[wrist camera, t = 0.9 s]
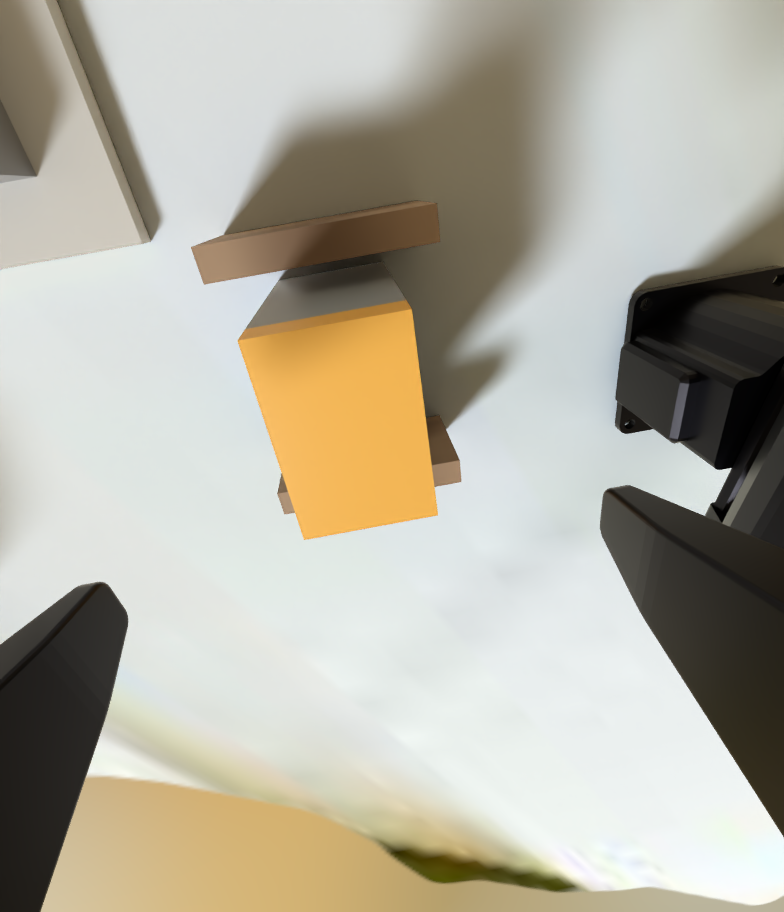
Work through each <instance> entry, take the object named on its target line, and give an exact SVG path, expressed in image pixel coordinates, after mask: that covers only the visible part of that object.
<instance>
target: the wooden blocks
mask: <svg viewBox="0 0 784 912" xmlns="http://www.w3.org/2000/svg"><path fill="white" fill-rule="evenodd" d="M437 242H440V233H439V221H438V210H437V203H431V202H423V201H411V202H406V203H400V204H395V205H389V206H383V207H378V208H372V209H367V210H361V211H355V212H350V213H344V214H339V215H333V216H328V217H322V218H316V219H311V220H305V221H300V222H294V223H288V224H283V225H277V226H272V227H266V228H260V229H255V230H249V231H244V232H238V233H233V234H227V235H222V236H219V237H217V238H214V239H211V240H209V241H206V242H204V243H201V244H198V245H196V246H193V247H191V249H192V252H193V255H194V257H195V260H196V263H197V266H198V269H199V272H200V275H201V277H202V280H203V283H204V284H209V283H215V282H220V281H226V280H231V279H237V278H243V277H248V276H254V275H259V274H265V273H270V272H276V271H282V270H287V269H293V268H298V267H304V266H309V265H315V264H320V263H326V262H332V261H337V260H343V259H348V258H354V257H359V256H365V255H370V254H376V253H382V252H387V251H393V250H398V249H404V248H409V247H415V246H421V245H426V244H432V243H437ZM426 425H427V432H428V440H429V448H430V456H431V464H432V472H433V480H434V487H436V486H441V485H447V484H452V483H458V482H461V471H460V460H459V458H458V456H457V453H456V451H455V449H454V447H453V444H452V442H451V440H450V438H449V436H448V433H447V431H446V429H445V427H444V424H443V422H442V420H441V418H440V415H438V416H433V417H427V418H426ZM277 494H278V497H279V500H280V503H281V505H282V508H283V511H284V514H290V513H295V511H294V508H293V505H292V502H291V499H290V496H289V493H288V490H287V487H286V484H285V481H284V478H283V475H282V474H281V479H280V484H279V489H278V493H277Z"/></svg>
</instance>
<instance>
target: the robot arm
mask: <svg viewBox="0 0 784 912" xmlns="http://www.w3.org/2000/svg"><path fill="white" fill-rule="evenodd" d="M776 276H777V279H776V281H775V282H774V283H773V280H774V278H775V277H776ZM644 299H647V302H646V305H645V306H644V307H643V308H641V309H640V304H641V302H642V301H643V300H644ZM616 400H617V410H616V418H615V426H616V427H617V429H619V430H620V431H621V432H622V433H625V434H629V433H635V432H640V431H645V430H651V429H654V430H656V431H657V432H658V433H660V434H661V435H662V436H664V437H665V438H666V439H668V440H669V441H670V442H672V443H679V442H680V443H682V444H683V445H684V446H686V447H687V448H688V449H690V450H691V451H692V452H694V453H695V454H696V455H698V456H699V457H701V458H702V459H703V460H705V461H706V462H707V463H709V464H710V465H711V466H713V467H714V468H715V469H717V470H722V469H727V468H732V469H731V471H730V473H729V475H728V477H727V479H726V481H725V483H724V485H723V487H722V489H721V491H720V493H719V495H718V497H717V499H716V501H715V502H714V503H711V504H710V506H709V508H708V511H707V513H706V515H705V516H703V515H701V514H698V513H696V512H693V511H691V510H689V509H686V508H684V507H681V506H679V505H677V504H674V503H672V502H669V501H667V500H664V499H662V498H660V497H657V496H655V495H652V494H650V493H648V492H645V491H643V490H640V489H638V488H635V487H633V486H629V485H625V486H620V487H614V488H609V489H607V490H606V491H605V492H604V494H603V500H602V510H601V519H600V530H601V534H602V537H603V539H604V541H605V543H606V545H607V547H608V549H609V551H610V553H611V555H612V557H613V559H614V561H615V563H616V565H617V567H618V569H619V571H620V573H621V575H622V577H623V579H624V581H625V583H626V586H627V588H628V590H629V592H630V594H631V596H632V598H633V600H634V601H635V603H636V605H637V607H638V609H639V611H640V613H641V614H642V616H643V618H644V619H645V621H646V623H647V624H648V626H649V627H650V629H651V631H652V632H653V634H654V635H655V637H656V638H657V640H658V641H659V643H660V645H661V646H662V648H663V649H664V651H665V652H666V654H667V655H668V657H669V659H670V660H671V662H672V663H673V665H674V666H675V668H676V670H677V671H678V673H679V674H680V676H681V677H682V679H683V680H684V682H685V684H686V685H687V687H688V688H689V690H690V691H691V693H692V695H693V696H694V698H695V699H696V701H697V702H698V704H699V705H700V707H701V709H702V710H703V712H704V713H705V715H706V716H707V718H708V719H709V721H710V723H711V724H712V726H713V727H714V729H715V730H716V732H717V734H718V735H719V737H720V738H721V740H722V741H723V743H724V744H725V746H726V748H727V749H728V751H729V752H730V754H731V755H732V757H733V758H734V760H735V762H736V763H737V765H738V766H739V768H740V769H741V771H742V773H743V774H744V776H745V777H746V779H747V780H748V782H749V783H750V785H751V787H752V788H753V790H754V791H755V793H756V794H757V796H758V798H759V799H760V801H761V802H762V804H763V805H764V807H765V808H766V810H767V812H768V813H769V815H770V816H771V818H772V819H773V821H774V822H775V824H776V826H777V827H778V829H779V830H780V832H781V833H782V835H783V837H784V267H781V266H771V267H766V268H760V269H755V270H749V271H744V272H738V273H733V274H727V275H722V276H716V277H711V278H705V279H700V280H694V281H689V282H683V283H678V284H672V285H667V286H661V287H655V288H650V289H644V290H641V291H638V292H637V293H635V294H634V295H633V296H632V298H631V299H630V302H629V307H628V315H627V324H626V333H625V341H624V345H623V347H622V348H621V354H620V362H619V371H618V380H617V389H616ZM630 419H631V420H630ZM628 420H630V422H629V423H628V424H627V425H625V423H626V422H627V421H628ZM127 627H128V615H127V612H126V610H125V608H124V607H123V605H122V604H121V603H120V601H119V600H118V598H117V597H116V595H115V594H114V592H113V591H112V589H111V588H110V587H109V585H108V584H106V583H104V582H95V583H90V584H85V585H81V586H78V587H76V588H75V589H73V590H72V591H71V592H69V593H68V594H67V595H65V596H64V597H63V598H61V599H60V600H59V601H57V602H56V603H55V604H53V605H52V606H51V607H49V608H48V609H47V610H45V611H44V612H43V613H41V614H40V615H39V616H38V617H36V618H35V619H34V620H32V621H31V622H30V623H28V624H27V625H26V626H24V627H23V628H22V629H20V630H19V631H18V632H16V633H15V634H14V635H12V636H11V637H10V638H8V639H7V640H6V641H4V642H3V643H2V644H1V645H0V912H40V911H41V908H42V905H43V902H44V899H45V896H46V893H47V891H48V887H49V885H50V882H51V878H52V876H53V873H54V870H55V867H56V864H57V861H58V858H59V855H60V852H61V849H62V846H63V843H64V840H65V837H66V834H67V831H68V828H69V825H70V822H71V819H72V816H73V813H74V810H75V807H76V804H77V802H78V799H79V796H80V793H81V790H82V787H83V784H84V781H85V778H86V775H87V772H88V769H89V766H90V763H91V760H92V757H93V754H94V751H95V748H96V745H97V742H98V739H99V736H100V733H101V730H102V727H103V724H104V721H105V718H106V715H107V712H108V708H109V704H110V700H111V697H112V692H113V688H114V684H115V679H116V675H117V671H118V666H119V662H120V658H121V653H122V649H123V645H124V640H125V636H126V632H127Z"/></svg>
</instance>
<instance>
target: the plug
mask: <svg viewBox="0 0 784 912" xmlns="http://www.w3.org/2000/svg"><path fill="white" fill-rule="evenodd" d="M238 344H239V347H240V350H241V353H242V356H243V359H244V362H245V365H246V368H247V371H248V373H249V376H250V379H251V382H252V385H253V388H254V391H255V394H256V397H257V400H258V403H259V406H260V409H261V412H262V415H263V418H264V421H265V424H266V427H267V430H268V433H269V436H270V439H271V442H272V445H273V448H274V451H275V454H276V457H277V460H278V463H279V466H280V469H281V472H282V475H283V478H284V481H285V484H286V487H287V490H288V493H289V496H290V499H291V502H292V505H293V508H294V511H295V514H296V517H297V520H298V523H299V526H300V529H301V532H302V535H303V538H304V540H306V539H312V538H317V537H323V536H328V535H334V534H339V533H344V532H350V531H355V530H361V529H366V528H371V527H377V526H382V525H388V524H393V523H398V522H404V521H409V520H415V519H420V518H426V517H431V516H436V515H438V511H437V504H436V496H435V488H434V480H433V472H432V464H431V456H430V448H429V440H428V432H427V425H426V417H425V409H424V401H423V393H422V385H421V377H420V369H419V361H418V354H417V346H416V338H415V330H414V322H413V314H412V309H411V307H410V305H409V304H408V302H407V300H406V299H405V297H404V295H403V294H402V292H401V291H400V289H399V287H398V286H397V284H396V282H395V281H394V279H393V277H392V276H391V274H390V273H389V271H388V269H387V268H386V266H385V264H384V263H383V262H378V263H372V264H367V265H361V266H356V267H350V268H345V269H339V270H334V271H328V272H322V273H317V274H311V275H306V276H300V277H295V278H289V279H284V280H279V281H278V282H277V283H276V285H275V286H274V288H273V289H272V291H271V292H270V294H269V295H268V297H267V298H266V300H265V301H264V303H263V304H262V305H261V307H260V308H259V310H258V311H257V313H256V314H255V316H254V317H253V319H252V320H251V322H250V323H249V325H248V326H247V327H246V329H245V330H244V332H243V333H242V335H241V336H240V338H239V339H238Z"/></svg>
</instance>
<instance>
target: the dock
mask: <svg viewBox="0 0 784 912" xmlns="http://www.w3.org/2000/svg"><path fill="white" fill-rule="evenodd" d="M147 242H151V240H150V238H149V235H148V233H147V230H146V228H145V225H144V223H143V220H142V217H141V215H140V212H139V210H138V207H137V205H136V202H135V200H134V197H133V194H132V192H131V189H130V187H129V184H128V182H127V179H126V176H125V174H124V171H123V169H122V166H121V164H120V161H119V159H118V156H117V153H116V151H115V148H114V146H113V143H112V141H111V138H110V135H109V133H108V130H107V128H106V125H105V123H104V120H103V118H102V115H101V112H100V110H99V107H98V105H97V102H96V100H95V97H94V95H93V92H92V89H91V87H90V84H89V82H88V79H87V77H86V74H85V71H84V69H83V66H82V64H81V61H80V59H79V56H78V54H77V51H76V48H75V46H74V43H73V41H72V38H71V36H70V33H69V31H68V28H67V25H66V23H65V20H64V18H63V15H62V13H61V10H60V7H59V5H58V2H57V0H0V269H5V268H10V267H16V266H21V265H27V264H32V263H38V262H44V261H49V260H55V259H60V258H66V257H72V256H77V255H83V254H88V253H94V252H100V251H105V250H111V249H116V248H122V247H127V246H133V245H139V244H144V243H147Z"/></svg>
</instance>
